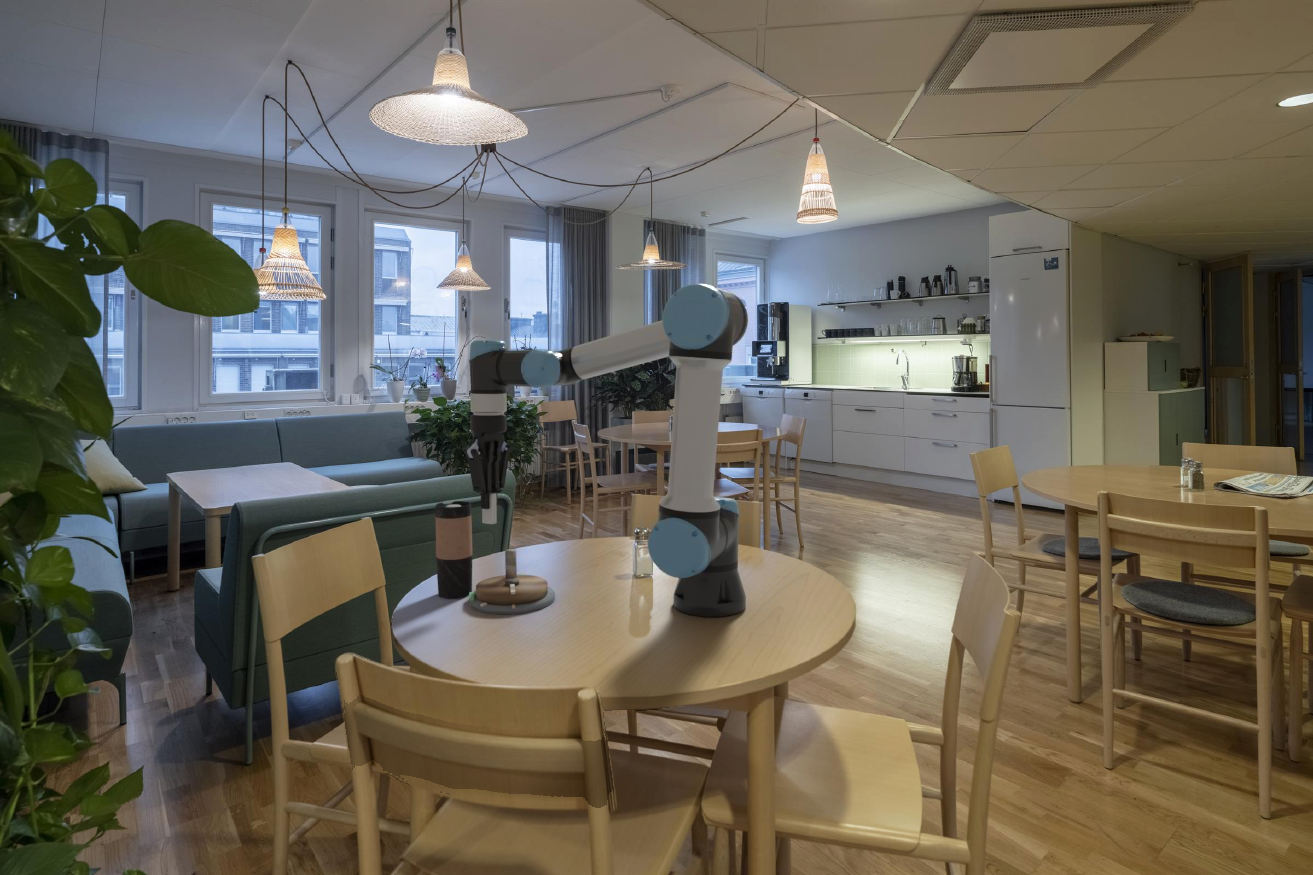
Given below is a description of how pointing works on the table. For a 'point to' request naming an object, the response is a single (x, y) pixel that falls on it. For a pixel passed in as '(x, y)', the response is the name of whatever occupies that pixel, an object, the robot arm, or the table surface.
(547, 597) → the gauge plate
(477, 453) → the robot arm
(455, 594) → the travel mug
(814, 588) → the table surface
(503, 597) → the dial
